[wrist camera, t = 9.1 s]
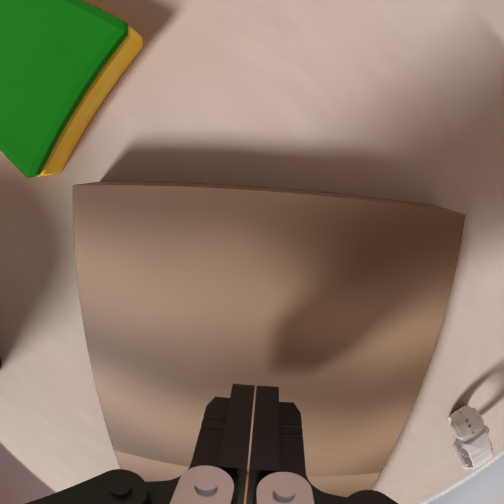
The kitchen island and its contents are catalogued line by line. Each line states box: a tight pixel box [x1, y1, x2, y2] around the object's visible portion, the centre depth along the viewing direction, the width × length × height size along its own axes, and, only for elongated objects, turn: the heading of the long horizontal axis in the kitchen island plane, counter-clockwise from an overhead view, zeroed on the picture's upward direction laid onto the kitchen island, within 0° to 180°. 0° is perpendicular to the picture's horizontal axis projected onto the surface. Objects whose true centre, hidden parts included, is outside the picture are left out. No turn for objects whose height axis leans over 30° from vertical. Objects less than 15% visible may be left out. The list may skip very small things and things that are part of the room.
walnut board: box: [73, 182, 465, 497], centre depth 14 cm, size 22×14×2 cm, turn 176°
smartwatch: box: [448, 405, 493, 470], centre depth 12 cm, size 4×2×4 cm, turn 32°
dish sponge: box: [0, 0, 143, 178], centre depth 10 cm, size 7×14×2 cm, turn 52°
